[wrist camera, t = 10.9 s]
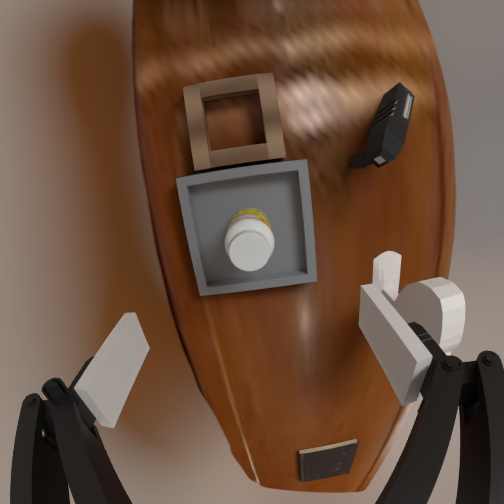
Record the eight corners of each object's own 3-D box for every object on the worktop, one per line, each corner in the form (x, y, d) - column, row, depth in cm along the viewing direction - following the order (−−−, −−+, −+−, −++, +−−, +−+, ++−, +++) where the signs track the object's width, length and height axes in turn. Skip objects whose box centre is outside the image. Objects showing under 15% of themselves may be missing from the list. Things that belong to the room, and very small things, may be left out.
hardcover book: (357, 436, 55) (359, 442, 53) (347, 467, 62) (348, 472, 60) (297, 448, 55) (298, 455, 53) (299, 477, 63) (300, 482, 61)
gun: (381, 114, 36) (421, 85, 26) (352, 187, 33) (405, 161, 23) (367, 103, 35) (406, 71, 26) (335, 174, 32) (386, 143, 22)
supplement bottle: (228, 208, 35) (219, 225, 25) (270, 206, 34) (277, 224, 25) (230, 248, 36) (223, 278, 27) (270, 247, 36) (277, 276, 27)
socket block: (187, 91, 30) (182, 86, 28) (271, 78, 30) (272, 72, 27) (198, 170, 34) (194, 170, 31) (283, 157, 33) (285, 157, 31)
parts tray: (180, 177, 34) (175, 178, 32) (303, 159, 33) (306, 159, 31) (203, 287, 39) (200, 295, 37) (313, 273, 38) (316, 281, 36)
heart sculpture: (392, 327, 42) (440, 397, 25) (367, 332, 42) (410, 409, 25) (402, 243, 37) (477, 296, 20) (374, 246, 37) (444, 306, 20)
